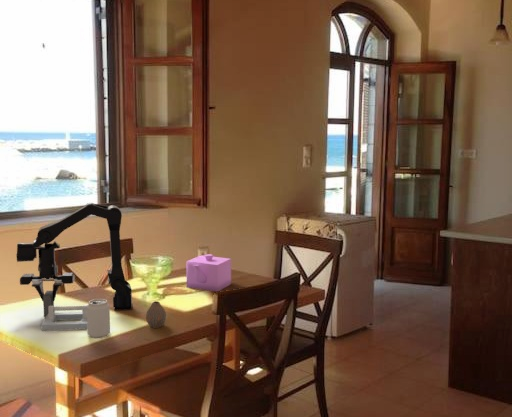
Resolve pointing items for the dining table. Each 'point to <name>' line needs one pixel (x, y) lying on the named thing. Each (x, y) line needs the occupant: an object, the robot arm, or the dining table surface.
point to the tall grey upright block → (47, 301)
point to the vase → (156, 315)
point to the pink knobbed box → (208, 273)
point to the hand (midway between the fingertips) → (48, 300)
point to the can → (98, 318)
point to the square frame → (65, 318)
